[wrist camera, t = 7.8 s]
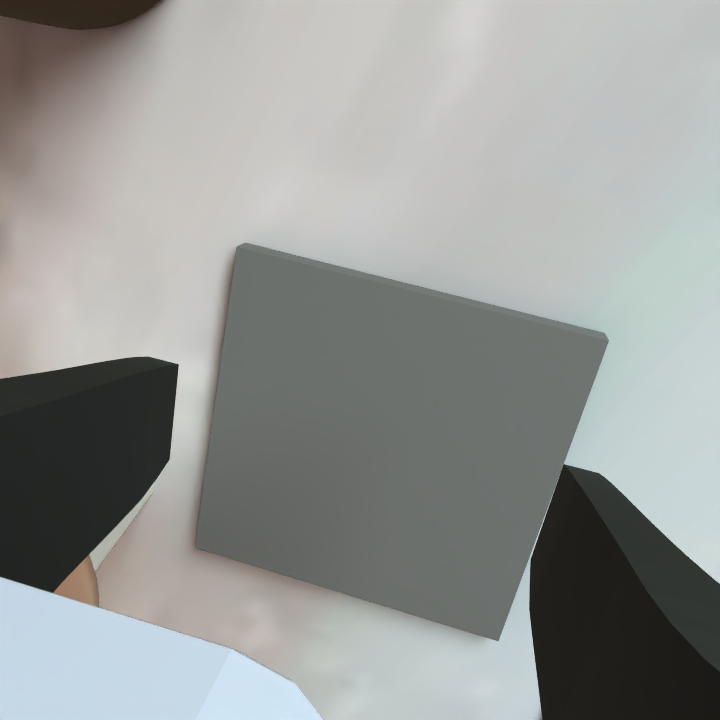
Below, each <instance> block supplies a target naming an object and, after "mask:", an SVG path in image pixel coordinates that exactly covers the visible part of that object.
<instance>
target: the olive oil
mask: <svg viewBox="0 0 720 720" xmlns="http://www.w3.org/2000/svg"><path fill="white" fill-rule="evenodd" d="M159 1H160V0H0V16H4V17H9V18H14V19H19V20H24V21H29V22H34V23H39V24H44V25H49V26H55V27H61V28H68V29H97V28H104V27H109V26H114V25H117V24H120V23H123V22H126V21H128V20H130V19H133V18H135V17H137V16H139V15H140V14H142V13H144V12H145V11H147V10H148V9H150V8H151V7H153V6H154V5H155V4H157V3H158V2H159Z"/></svg>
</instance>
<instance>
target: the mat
mask: <svg viewBox="0 0 720 720" xmlns="http://www.w3.org/2000/svg"><path fill="white" fill-rule="evenodd" d="M608 342H609V340H608V338H607V336H606V335H605V333H602V332H598V331H594V330H590V329H586V328H582V327H578V326H574V325H570V324H566V323H562V322H558V321H554V320H550V319H546V318H542V317H538V316H534V315H530V314H526V313H522V312H518V311H514V310H510V309H506V308H502V307H498V306H494V305H490V304H486V303H482V302H479V301H475V300H471V299H467V298H463V297H459V296H455V295H451V294H447V293H443V292H439V291H435V290H431V289H427V288H423V287H419V286H415V285H411V284H407V283H403V282H399V281H395V280H391V279H387V278H383V277H379V276H375V275H371V274H367V273H363V272H359V271H355V270H351V269H347V268H343V267H340V266H336V265H332V264H328V263H324V262H320V261H316V260H312V259H308V258H304V257H300V256H296V255H292V254H288V253H284V252H280V251H276V250H272V249H268V248H264V247H260V246H256V245H252V244H248V243H244V244H242V245H239V246H237V248H236V255H235V263H234V270H233V277H232V284H231V291H230V298H229V305H228V313H227V320H226V327H225V334H224V341H223V348H222V355H221V362H220V370H219V377H218V384H217V391H216V398H215V405H214V412H213V420H212V427H211V434H210V441H209V448H208V455H207V462H206V469H205V477H204V484H203V491H202V498H201V505H200V512H199V519H198V527H197V534H196V541H195V548H198V549H201V550H204V551H207V552H211V553H214V554H217V555H220V556H224V557H227V558H230V559H233V560H237V561H240V562H243V563H246V564H250V565H253V566H256V567H259V568H263V569H266V570H269V571H272V572H275V573H279V574H282V575H285V576H288V577H292V578H295V579H298V580H301V581H305V582H308V583H311V584H314V585H318V586H321V587H324V588H327V589H331V590H334V591H337V592H340V593H344V594H347V595H350V596H353V597H357V598H360V599H363V600H366V601H370V602H373V603H376V604H379V605H383V606H386V607H389V608H392V609H396V610H399V611H402V612H405V613H409V614H412V615H415V616H418V617H422V618H425V619H428V620H431V621H435V622H438V623H441V624H444V625H448V626H451V627H454V628H457V629H461V630H464V631H467V632H470V633H473V634H477V635H480V636H483V637H486V638H490V639H493V640H496V641H499V638H500V635H501V633H502V630H503V627H504V625H505V622H506V619H507V616H508V614H509V611H510V608H511V605H512V603H513V600H514V597H515V595H516V592H517V589H518V586H519V584H520V581H521V578H522V576H523V573H524V570H525V567H526V565H527V562H528V559H529V557H530V554H531V551H532V548H533V546H534V543H535V540H536V538H537V535H538V532H539V529H540V527H541V524H542V521H543V518H544V516H545V513H546V510H547V508H548V505H549V502H550V499H551V497H552V494H553V491H554V489H555V486H556V483H557V480H558V478H559V475H560V472H561V470H562V467H563V464H564V461H565V459H566V456H567V453H568V451H569V448H570V445H571V442H572V440H573V437H574V434H575V431H576V429H577V426H578V423H579V421H580V418H581V415H582V412H583V410H584V407H585V404H586V402H587V399H588V396H589V393H590V391H591V388H592V385H593V383H594V380H595V377H596V374H597V372H598V369H599V366H600V363H601V361H602V358H603V355H604V353H605V350H606V347H607V344H608Z"/></svg>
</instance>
